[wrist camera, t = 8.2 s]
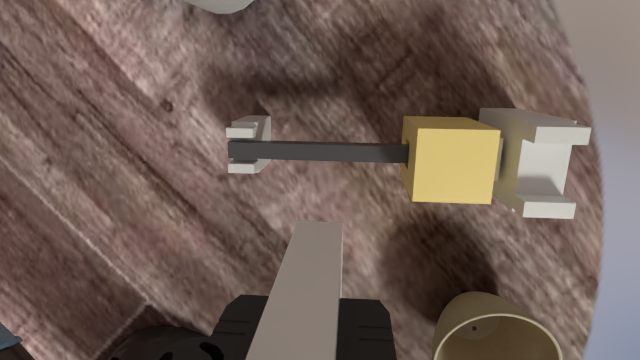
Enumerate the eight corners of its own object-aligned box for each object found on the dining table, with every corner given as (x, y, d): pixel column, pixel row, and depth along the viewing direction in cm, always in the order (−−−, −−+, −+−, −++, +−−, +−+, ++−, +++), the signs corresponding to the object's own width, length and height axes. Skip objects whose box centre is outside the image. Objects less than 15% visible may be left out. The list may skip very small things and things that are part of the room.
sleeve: (399, 173, 32) (412, 201, 25) (403, 116, 31) (418, 128, 24) (460, 175, 32) (490, 204, 25) (466, 117, 31) (500, 130, 24)
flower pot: (429, 261, 37) (447, 304, 30) (536, 276, 36) (579, 324, 29) (410, 348, 39) (422, 406, 32) (509, 364, 39) (542, 426, 32)
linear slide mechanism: (250, 169, 36) (209, 207, 25) (248, 103, 34) (202, 116, 24) (506, 177, 34) (572, 222, 24) (516, 108, 32) (592, 124, 22)
